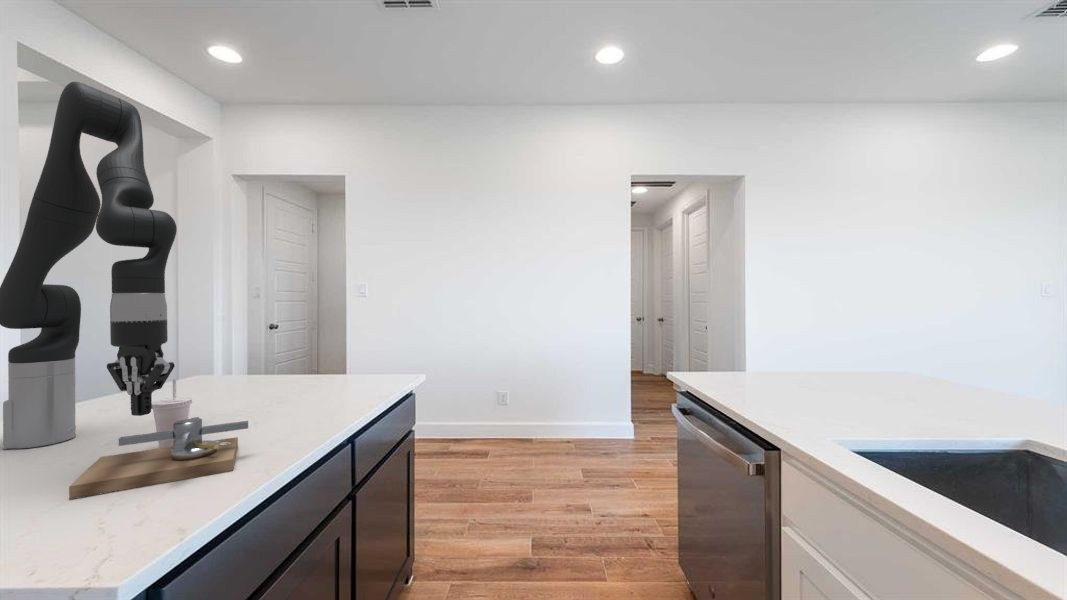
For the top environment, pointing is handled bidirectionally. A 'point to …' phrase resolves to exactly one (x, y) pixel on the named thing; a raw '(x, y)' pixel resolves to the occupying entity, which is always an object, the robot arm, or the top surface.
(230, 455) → the board
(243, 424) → the capstan
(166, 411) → the smoothie
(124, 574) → the top surface
